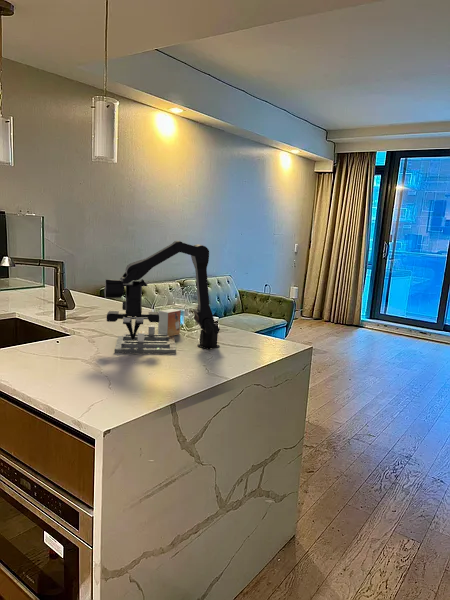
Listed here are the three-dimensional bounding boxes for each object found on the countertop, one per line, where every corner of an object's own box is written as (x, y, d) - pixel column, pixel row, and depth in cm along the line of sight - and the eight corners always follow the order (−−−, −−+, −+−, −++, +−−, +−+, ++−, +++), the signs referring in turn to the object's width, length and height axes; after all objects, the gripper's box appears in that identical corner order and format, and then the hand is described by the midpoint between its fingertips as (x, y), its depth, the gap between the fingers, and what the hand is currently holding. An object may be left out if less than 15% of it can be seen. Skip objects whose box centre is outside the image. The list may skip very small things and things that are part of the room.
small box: (167, 337, 189) (167, 312, 187) (157, 334, 192) (158, 310, 190) (180, 334, 195) (181, 310, 193) (170, 331, 198) (171, 308, 196)
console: (173, 339, 186) (173, 333, 185) (175, 353, 167) (176, 346, 167) (118, 339, 182) (118, 332, 182) (114, 353, 164) (114, 346, 163)
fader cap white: (144, 344, 172) (144, 330, 171) (144, 346, 168) (144, 333, 167) (137, 343, 171) (138, 330, 170) (137, 346, 168) (137, 333, 167)
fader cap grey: (154, 337, 182) (154, 324, 181) (154, 339, 179) (154, 326, 178) (148, 337, 181) (148, 324, 181) (148, 339, 178) (148, 326, 177)
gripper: (159, 294, 175) (158, 334, 178) (109, 293, 172) (109, 333, 175) (159, 300, 165) (158, 341, 168) (106, 298, 162) (106, 341, 164)
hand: (133, 339), depth 169 cm, fingers closed
